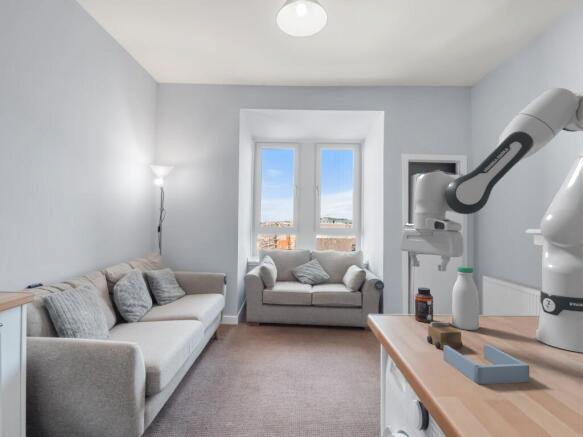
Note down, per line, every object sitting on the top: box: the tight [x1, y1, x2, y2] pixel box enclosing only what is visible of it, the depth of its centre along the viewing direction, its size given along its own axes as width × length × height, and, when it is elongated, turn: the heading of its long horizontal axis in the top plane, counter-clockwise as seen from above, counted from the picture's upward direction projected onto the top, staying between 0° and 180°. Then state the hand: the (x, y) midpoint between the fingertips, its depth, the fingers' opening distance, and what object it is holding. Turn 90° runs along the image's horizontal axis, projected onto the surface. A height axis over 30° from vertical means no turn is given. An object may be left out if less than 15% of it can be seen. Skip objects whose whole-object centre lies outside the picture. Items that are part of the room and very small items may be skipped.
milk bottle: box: [451, 265, 480, 331], centre depth 102 cm, size 8×8×20 cm
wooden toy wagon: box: [426, 321, 464, 350], centre depth 86 cm, size 7×6×6 cm
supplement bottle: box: [414, 287, 434, 323], centre depth 109 cm, size 6×6×11 cm
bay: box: [442, 343, 530, 385], centre depth 71 cm, size 12×12×4 cm
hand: (428, 268), depth 94 cm, fingers open, 8 cm apart
